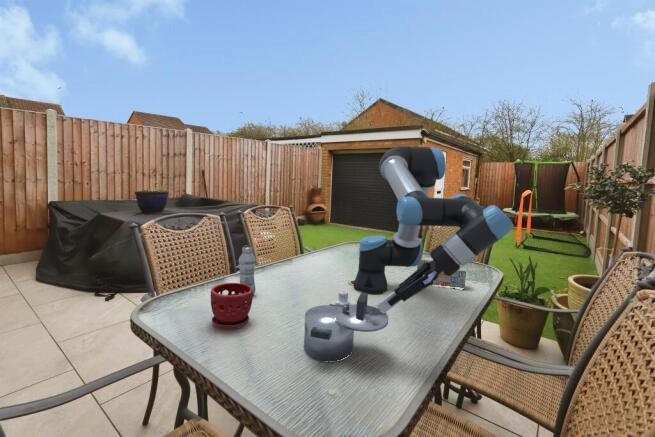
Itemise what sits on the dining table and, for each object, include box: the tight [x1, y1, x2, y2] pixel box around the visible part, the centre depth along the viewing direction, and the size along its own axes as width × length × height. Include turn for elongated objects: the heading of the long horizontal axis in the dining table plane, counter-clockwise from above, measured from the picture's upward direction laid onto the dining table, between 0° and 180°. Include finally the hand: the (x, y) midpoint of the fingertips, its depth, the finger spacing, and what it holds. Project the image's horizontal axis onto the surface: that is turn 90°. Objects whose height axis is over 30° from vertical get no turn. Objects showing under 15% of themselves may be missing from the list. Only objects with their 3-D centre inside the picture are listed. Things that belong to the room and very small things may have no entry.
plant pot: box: [210, 282, 254, 330], centre depth 105 cm, size 13×13×12 cm
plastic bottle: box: [238, 245, 256, 296], centre depth 129 cm, size 6×7×20 cm
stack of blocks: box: [416, 256, 467, 289], centre depth 151 cm, size 21×6×12 cm, turn 72°
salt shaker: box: [334, 290, 351, 306], centre depth 112 cm, size 4×4×10 cm
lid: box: [335, 292, 389, 333], centre depth 88 cm, size 15×15×6 cm
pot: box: [303, 303, 355, 363], centre depth 92 cm, size 14×19×10 cm
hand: (380, 309), depth 87 cm, fingers closed
